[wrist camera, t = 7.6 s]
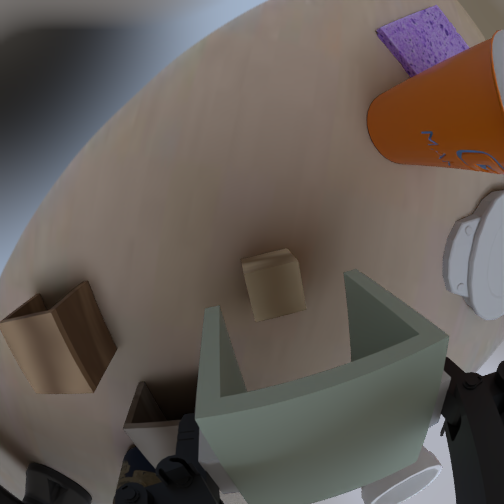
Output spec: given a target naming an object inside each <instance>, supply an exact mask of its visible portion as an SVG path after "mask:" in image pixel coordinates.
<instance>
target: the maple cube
mask: <svg viewBox="0 0 504 504" xmlns="http://www.w3.org/2000/svg"><path fill="white" fill-rule="evenodd" d="M241 263H242V268H243V273H244V278H245V282H246V286H247V290H248V294H249V298H250V302H251V306H252V310H253V315H254V319H255V322H260V321H264V320H268V319H272V318H276V317H280V316H284V315H288V314H292V313H296V312H300V311H303V310H306V304H305V298H304V292H303V286H302V280H301V274H300V268H299V262H298V260H297V259H296V258H295V257H294V255H293V254H292V253H291V252H290V251H289V250H288V249H287V248H286V249H282V250H277V251H273V252H269V253H265V254H260V255H256V256H252V257H248V258H243V259H241Z"/></svg>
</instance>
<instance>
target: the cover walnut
mask: <svg viewBox="0 0 504 504" xmlns="http://www.w3.org/2000/svg"><path fill="white" fill-rule="evenodd" d="M0 330H1V332H2V334H3V336H4V338H5V340H6V342H7V344H8V346H9V348H10V350H11V352H12V354H13V356H14V357H15V359H16V361H17V363H18V365H19V366H20V368H21V370H22V371H23V373H24V375H25V376H26V378H27V380H28V381H29V383H30V384H31V386H32V388H33V389H34V391H35V392H36V394H82V393H94V391H95V390H96V388H97V386H98V384H99V382H100V380H101V378H102V376H103V374H104V372H105V371H106V369H107V367H108V365H109V363H110V361H111V359H112V358H113V356H114V354H115V352H116V350H117V348H116V346H115V344H114V342H113V339H112V337H111V335H110V333H109V331H108V329H107V326H106V324H105V322H104V320H103V317H102V315H101V313H100V310H99V308H98V305H97V303H96V300H95V298H94V295H93V293H92V290H91V288H90V285H89V282H88V281H85V282H82V283H81V284H79V285H78V286H77V287H76V288H75V289H73V290H72V291H71V292H70V293H69V294H67V295H66V296H65V297H64V298H63V299H61V300H60V301H59V302H58V303H57V304H56V305H54V306H53V307H52V308H51V309H50V310H46V308H45V305H44V303H43V301H42V298H41V296H40V294H37V295H35V296H33V297H32V298H31V299H29V300H28V301H26V302H25V303H24V304H22V305H21V306H20V307H18V308H17V309H16V310H15V311H13V312H12V313H11V314H9V315H8V316H7V317H6V318H4V319H3V320H2V321H1V322H0Z"/></svg>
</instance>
